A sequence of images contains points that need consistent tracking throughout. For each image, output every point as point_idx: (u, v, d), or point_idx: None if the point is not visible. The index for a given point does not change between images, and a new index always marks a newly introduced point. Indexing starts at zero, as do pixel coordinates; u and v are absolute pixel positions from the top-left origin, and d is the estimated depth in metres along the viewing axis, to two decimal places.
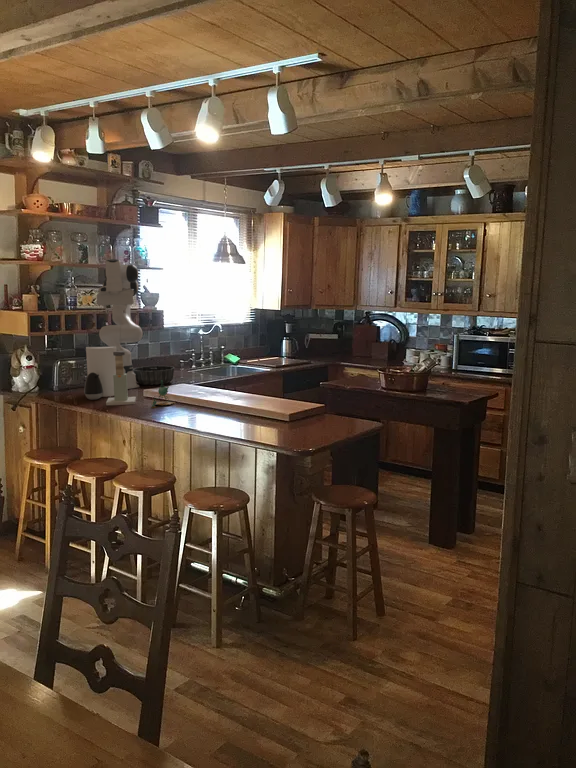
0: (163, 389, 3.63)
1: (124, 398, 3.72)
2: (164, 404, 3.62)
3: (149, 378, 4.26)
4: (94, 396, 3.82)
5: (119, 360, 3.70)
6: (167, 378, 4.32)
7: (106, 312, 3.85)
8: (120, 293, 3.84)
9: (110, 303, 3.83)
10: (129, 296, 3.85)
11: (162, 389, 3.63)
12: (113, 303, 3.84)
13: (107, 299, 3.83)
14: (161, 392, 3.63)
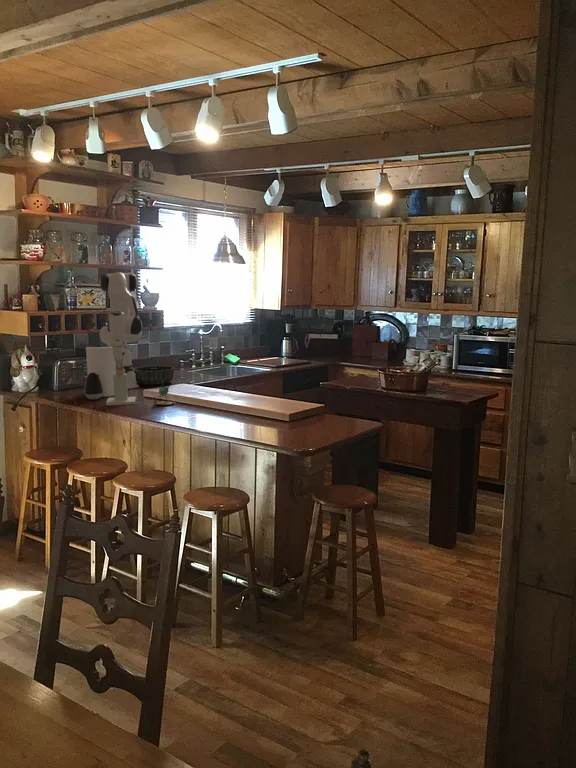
0: (164, 389, 3.64)
1: (124, 398, 3.72)
2: (165, 404, 3.62)
3: (149, 378, 4.26)
4: (94, 396, 3.82)
5: None
6: (167, 378, 4.32)
7: (120, 366, 3.70)
8: None
9: None
10: (123, 348, 3.79)
11: (163, 389, 3.63)
12: None
13: None
14: (162, 392, 3.63)
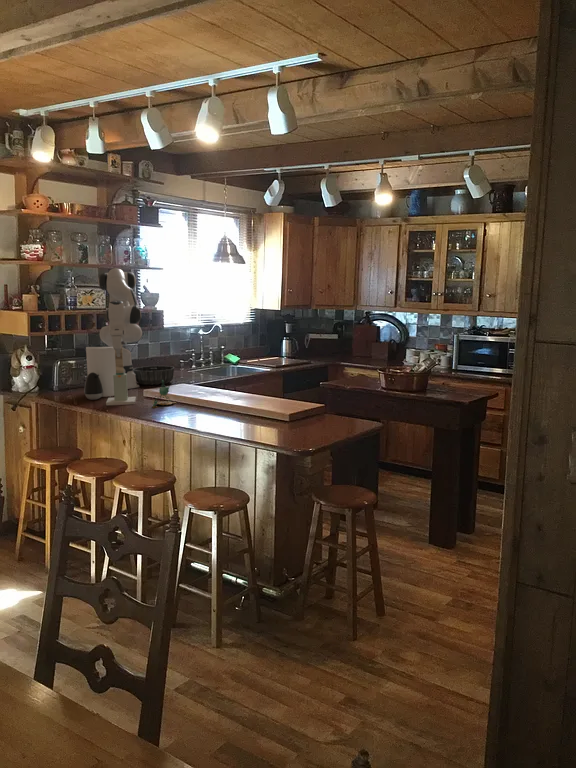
0: (164, 389, 3.64)
1: (124, 398, 3.72)
2: (165, 404, 3.62)
3: (149, 378, 4.26)
4: (94, 396, 3.82)
5: None
6: (167, 378, 4.32)
7: None
8: None
9: (121, 346, 3.69)
10: (122, 337, 3.78)
11: (163, 389, 3.64)
12: None
13: None
14: (162, 392, 3.64)
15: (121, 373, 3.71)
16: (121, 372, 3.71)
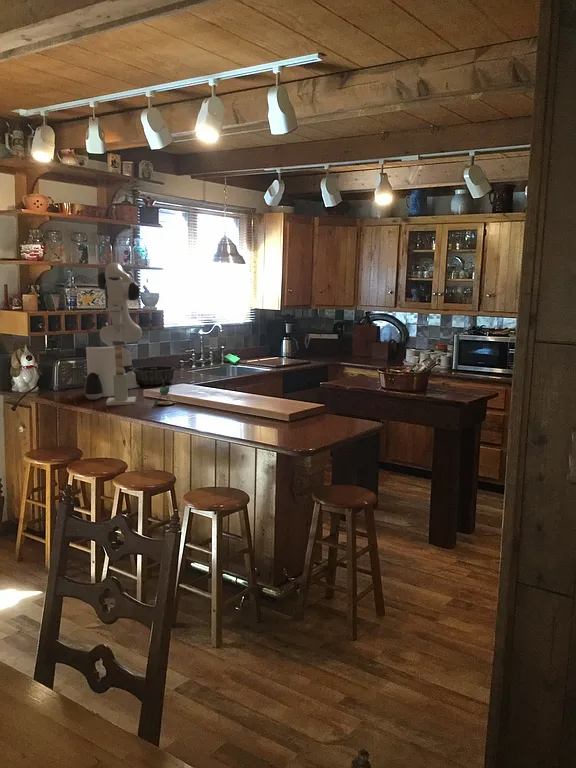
0: (164, 389, 3.64)
1: (124, 398, 3.72)
2: (165, 404, 3.62)
3: (149, 378, 4.26)
4: (94, 396, 3.82)
5: (118, 349, 3.69)
6: (167, 378, 4.32)
7: (118, 332, 3.65)
8: None
9: (120, 322, 3.67)
10: (121, 314, 3.76)
11: (163, 389, 3.64)
12: (120, 322, 3.68)
13: None
14: (162, 392, 3.64)
15: (121, 373, 3.71)
16: (121, 372, 3.71)
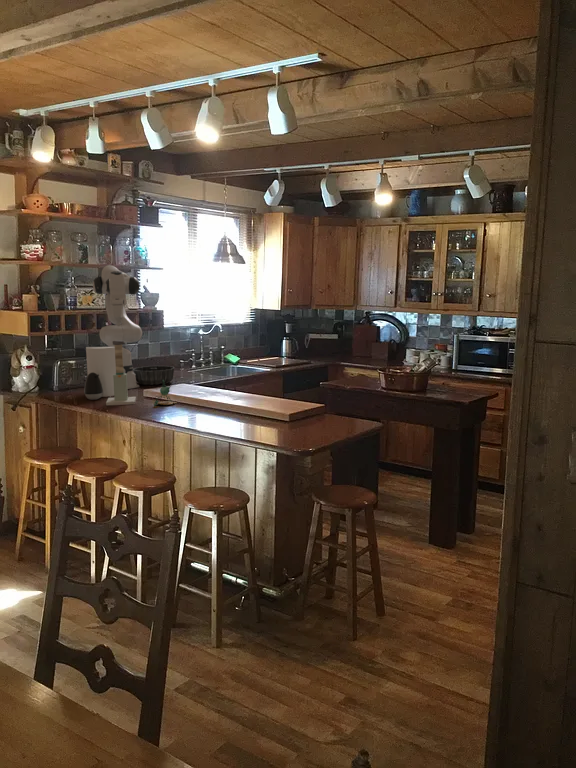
0: (165, 389, 3.64)
1: (124, 398, 3.72)
2: (166, 404, 3.62)
3: (149, 378, 4.26)
4: (94, 396, 3.82)
5: (118, 349, 3.69)
6: (167, 378, 4.32)
7: (120, 325, 3.78)
8: None
9: None
10: (122, 308, 3.90)
11: (164, 389, 3.64)
12: None
13: None
14: (163, 392, 3.64)
15: (121, 373, 3.71)
16: (121, 372, 3.71)
